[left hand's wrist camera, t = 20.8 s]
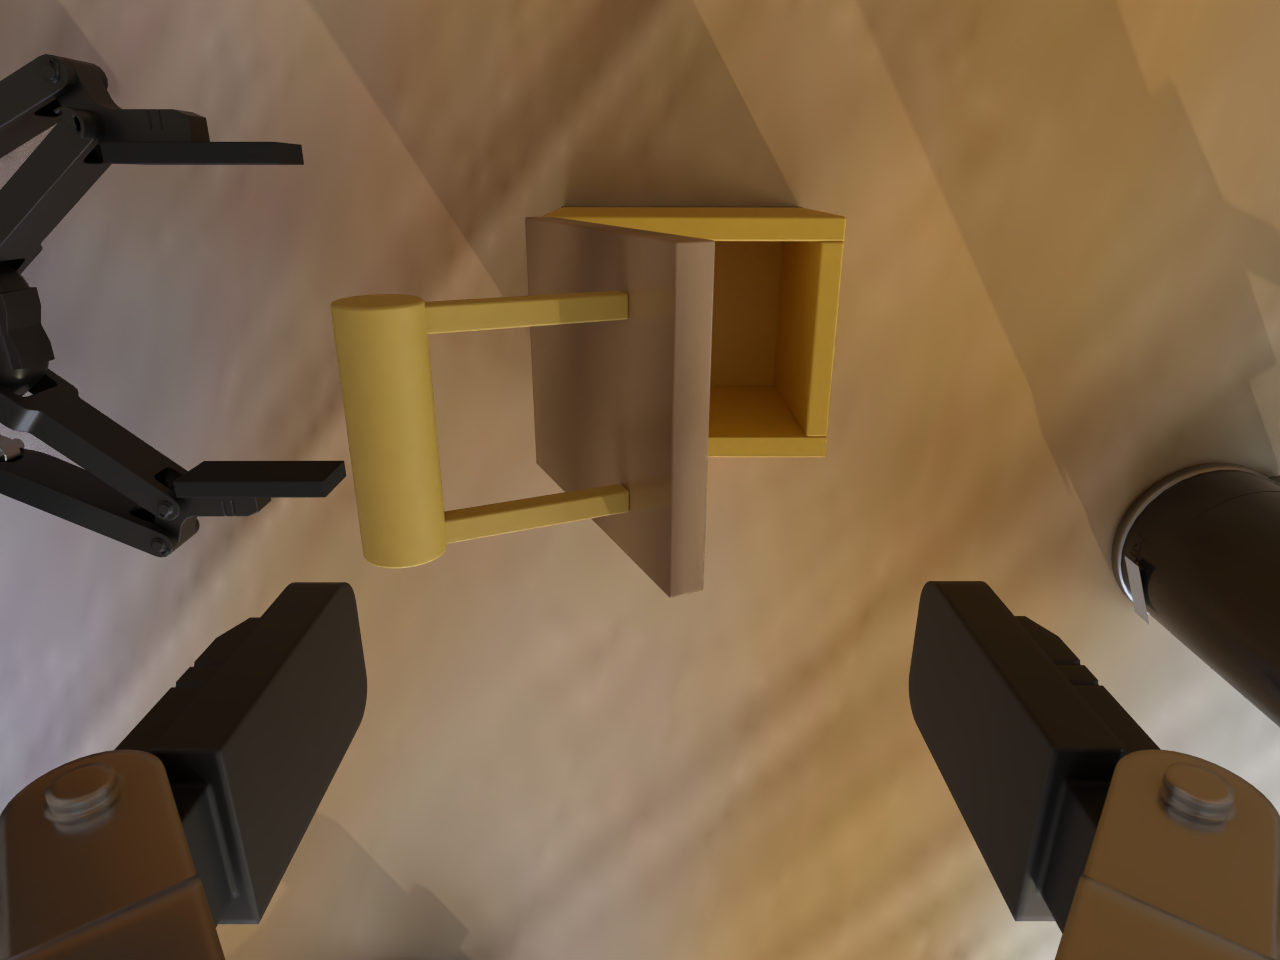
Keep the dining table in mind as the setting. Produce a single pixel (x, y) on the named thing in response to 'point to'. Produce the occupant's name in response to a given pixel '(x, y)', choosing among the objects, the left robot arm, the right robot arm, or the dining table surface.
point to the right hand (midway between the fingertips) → (315, 327)
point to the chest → (760, 318)
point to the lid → (550, 399)
